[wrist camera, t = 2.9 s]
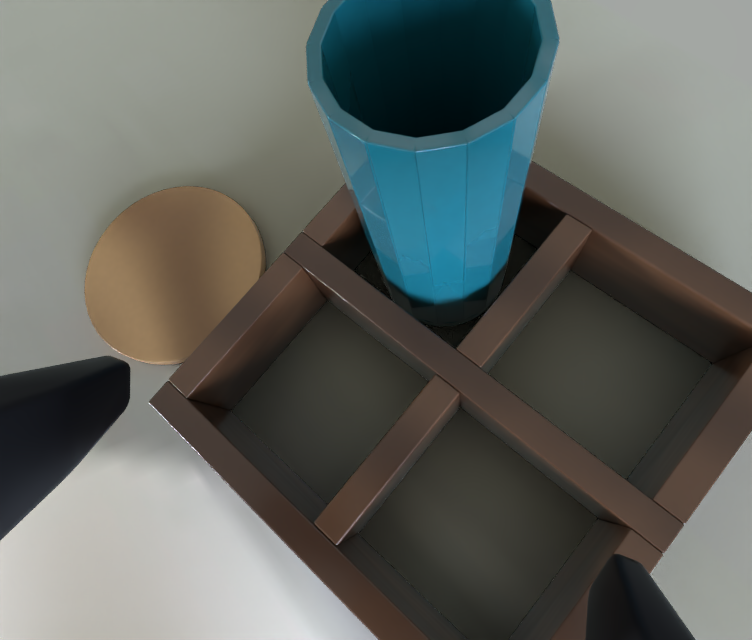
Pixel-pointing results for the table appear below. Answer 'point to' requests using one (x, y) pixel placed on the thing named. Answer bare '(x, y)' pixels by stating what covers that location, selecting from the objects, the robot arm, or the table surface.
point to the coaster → (171, 272)
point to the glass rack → (475, 401)
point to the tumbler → (435, 135)
